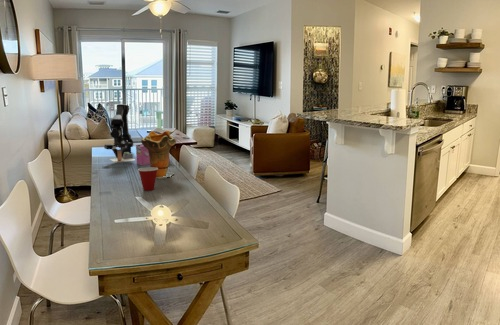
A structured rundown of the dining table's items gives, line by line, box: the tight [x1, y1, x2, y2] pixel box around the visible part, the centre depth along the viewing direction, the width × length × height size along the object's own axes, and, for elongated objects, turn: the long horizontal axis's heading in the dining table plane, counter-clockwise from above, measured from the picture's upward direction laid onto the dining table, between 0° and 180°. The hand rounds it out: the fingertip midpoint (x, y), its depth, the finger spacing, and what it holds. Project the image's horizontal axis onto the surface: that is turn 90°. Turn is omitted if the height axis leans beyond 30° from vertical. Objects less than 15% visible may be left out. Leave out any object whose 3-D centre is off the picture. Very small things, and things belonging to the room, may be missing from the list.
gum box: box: [135, 143, 171, 166], centre depth 285 cm, size 24×8×14 cm, turn 135°
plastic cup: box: [137, 166, 158, 192], centre depth 217 cm, size 11×11×12 cm
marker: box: [116, 148, 122, 161], centre depth 285 cm, size 3×3×8 cm
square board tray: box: [108, 153, 137, 164], centre depth 290 cm, size 16×16×4 cm
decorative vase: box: [140, 130, 177, 180], centre depth 246 cm, size 21×23×28 cm
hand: (119, 157), depth 286 cm, fingers open, 3 cm apart
